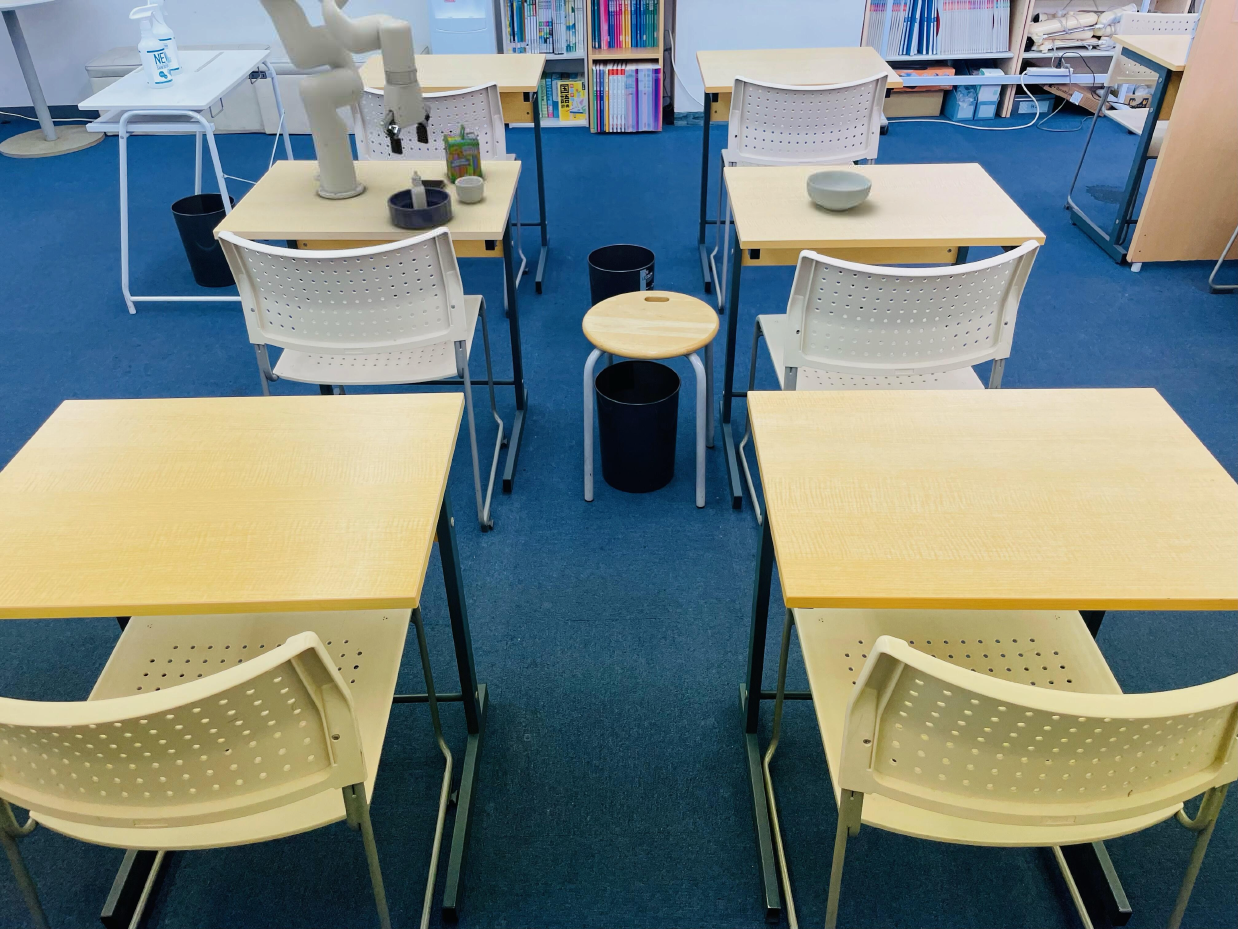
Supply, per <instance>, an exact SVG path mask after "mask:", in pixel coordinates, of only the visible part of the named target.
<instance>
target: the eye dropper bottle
mask: <svg viewBox="0 0 1238 929" xmlns="http://www.w3.org/2000/svg"><path fill="white" fill-rule="evenodd" d="M410 178H411V186H410V189H411V193H412V199H413V206H414V209H422V208H427V202H426V195H425V189H424V186H423V185H422V182H421V180H422V176H421V175H420V174H419V173H418V171H417V170H414V171H413V175H411V177H410Z"/></svg>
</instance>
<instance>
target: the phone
mask: <svg viewBox="0 0 1238 929" xmlns="http://www.w3.org/2000/svg"><path fill="white" fill-rule="evenodd" d="M421 182H422V185H423V186H424V187H428V188H437V189H442V190H444V189H443V188H444V187H445V186H446V184H445V180H443V179H421Z"/></svg>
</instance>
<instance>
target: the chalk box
mask: <svg viewBox="0 0 1238 929" xmlns="http://www.w3.org/2000/svg"><path fill="white" fill-rule="evenodd" d="M479 141H480V140H479V138H478V137H477V135H476V134H475V132H474V131H470V132H469V131H468V132H466V127H465V125H464V124H463V123H461V124H460V130H459V132H458V133H447V134H445V133H444V134H443V143H444V144H443V145H444V156H445V163H446V164H445V165H446V173H447V175H448V177H449V179H450V181H451V183H452V184H455V181H456V180H457V179H459V178H462V177H468V176H475V177H480V178H482V179H483V172H482V160H481V151H480V150H481V148H480V142H479Z"/></svg>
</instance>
